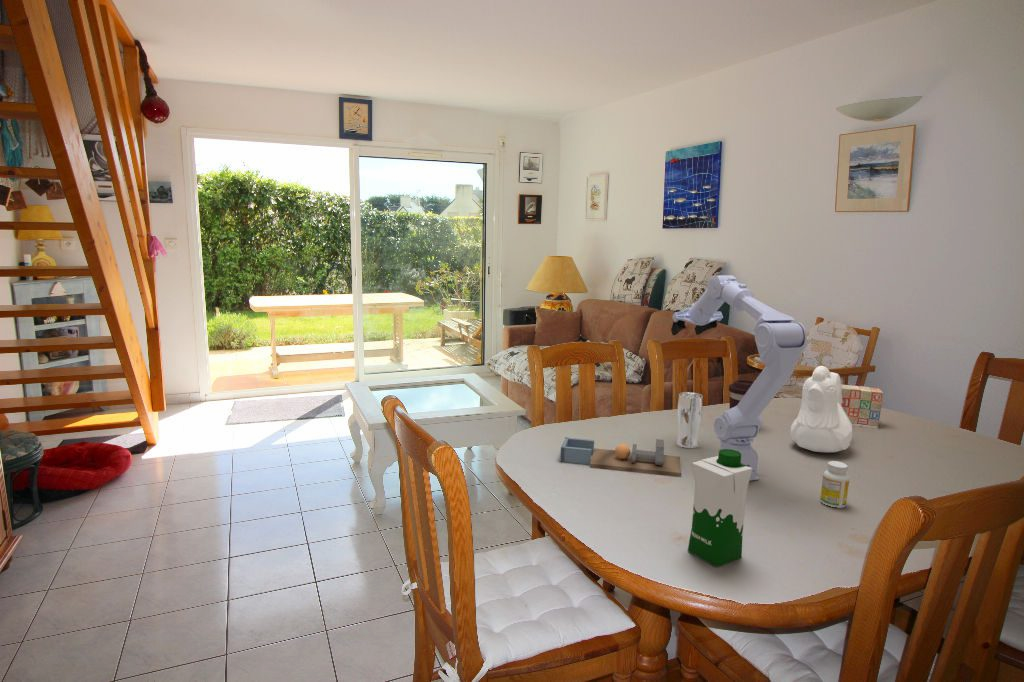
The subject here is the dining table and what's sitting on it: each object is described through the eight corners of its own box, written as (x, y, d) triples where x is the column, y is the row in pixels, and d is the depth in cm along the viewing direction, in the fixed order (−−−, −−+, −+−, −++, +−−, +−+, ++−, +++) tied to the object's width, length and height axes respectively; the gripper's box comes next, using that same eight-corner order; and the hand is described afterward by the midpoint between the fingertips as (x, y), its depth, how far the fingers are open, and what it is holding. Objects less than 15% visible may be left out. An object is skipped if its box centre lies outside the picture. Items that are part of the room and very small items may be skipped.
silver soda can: (697, 441, 182) (700, 392, 180) (701, 449, 175) (705, 398, 173) (673, 440, 183) (676, 391, 180) (677, 448, 176) (680, 397, 173)
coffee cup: (718, 425, 199) (722, 379, 196) (741, 421, 203) (745, 377, 200) (741, 434, 190) (746, 387, 187) (765, 430, 194) (770, 384, 191)
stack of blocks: (805, 420, 206) (809, 384, 204) (804, 415, 212) (808, 380, 210) (878, 429, 198) (883, 392, 196) (875, 423, 204) (880, 387, 202)
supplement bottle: (828, 509, 138) (833, 468, 137) (815, 499, 144) (819, 460, 142) (851, 508, 139) (856, 468, 137) (836, 498, 144) (841, 459, 143)
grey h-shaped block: (662, 457, 165) (663, 439, 164) (662, 465, 159) (664, 447, 158) (632, 454, 166) (633, 436, 166) (631, 462, 161) (632, 444, 160)
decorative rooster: (830, 464, 166) (841, 374, 162) (775, 447, 178) (784, 363, 174) (872, 446, 181) (883, 364, 176) (819, 432, 193) (828, 354, 189)
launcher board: (679, 460, 167) (679, 456, 167) (681, 476, 155) (681, 472, 155) (594, 451, 172) (594, 448, 172) (589, 467, 160) (589, 463, 160)
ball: (632, 460, 163) (633, 446, 162) (618, 461, 162) (619, 447, 161) (625, 455, 167) (626, 441, 166) (612, 456, 166) (613, 442, 165)
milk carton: (748, 558, 116) (758, 457, 113) (716, 571, 112) (725, 466, 108) (711, 538, 124) (719, 443, 120) (679, 550, 119) (687, 451, 116)
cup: (593, 453, 170) (594, 440, 169) (590, 464, 162) (591, 450, 161) (564, 451, 172) (565, 437, 171) (560, 461, 164) (560, 447, 163)
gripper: (725, 293, 171) (702, 320, 183) (678, 294, 168) (658, 321, 179) (733, 315, 168) (710, 340, 179) (686, 315, 164) (665, 341, 176)
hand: (684, 332), depth 179 cm, fingers open, 7 cm apart
